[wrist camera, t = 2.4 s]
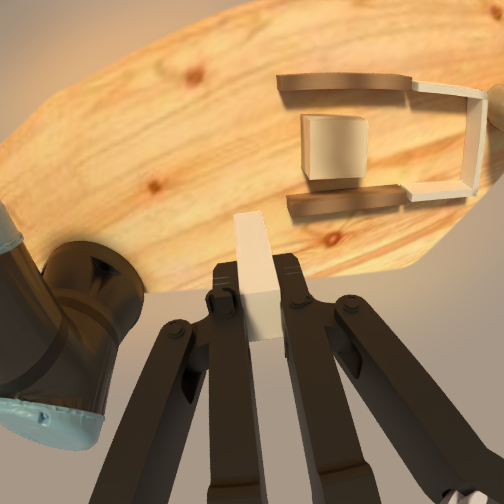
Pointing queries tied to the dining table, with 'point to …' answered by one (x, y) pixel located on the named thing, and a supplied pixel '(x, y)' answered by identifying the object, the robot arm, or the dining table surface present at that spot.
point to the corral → (472, 146)
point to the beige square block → (334, 145)
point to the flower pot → (496, 106)
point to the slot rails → (353, 196)
